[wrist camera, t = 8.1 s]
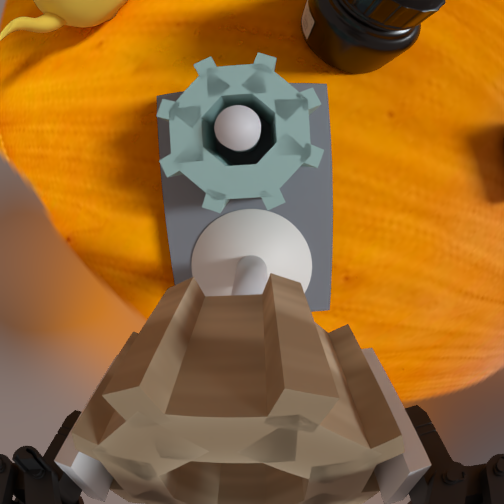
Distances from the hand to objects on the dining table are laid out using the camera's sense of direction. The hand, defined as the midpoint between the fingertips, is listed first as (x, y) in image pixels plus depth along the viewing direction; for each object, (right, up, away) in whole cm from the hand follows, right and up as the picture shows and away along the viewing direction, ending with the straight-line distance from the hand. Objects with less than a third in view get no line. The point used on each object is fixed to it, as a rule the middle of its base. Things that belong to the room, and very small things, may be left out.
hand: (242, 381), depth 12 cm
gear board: (0, +10, +13) cm, 16 cm away
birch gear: (0, 0, 0) cm, 0 cm away
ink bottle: (+9, +26, +8) cm, 28 cm away
